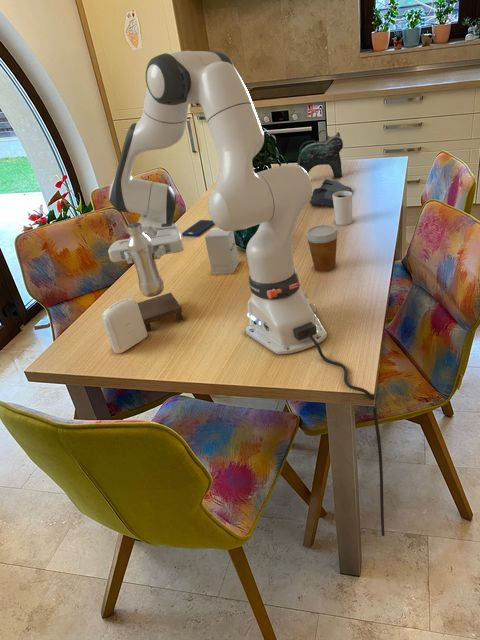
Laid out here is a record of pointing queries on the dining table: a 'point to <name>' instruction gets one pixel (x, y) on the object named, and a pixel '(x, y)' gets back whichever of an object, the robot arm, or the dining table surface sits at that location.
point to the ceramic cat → (322, 154)
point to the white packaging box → (221, 251)
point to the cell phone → (198, 228)
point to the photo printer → (124, 324)
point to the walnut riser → (159, 309)
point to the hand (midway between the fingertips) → (143, 258)
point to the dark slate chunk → (327, 193)
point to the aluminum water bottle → (144, 261)
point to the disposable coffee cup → (323, 246)
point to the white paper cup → (343, 207)
